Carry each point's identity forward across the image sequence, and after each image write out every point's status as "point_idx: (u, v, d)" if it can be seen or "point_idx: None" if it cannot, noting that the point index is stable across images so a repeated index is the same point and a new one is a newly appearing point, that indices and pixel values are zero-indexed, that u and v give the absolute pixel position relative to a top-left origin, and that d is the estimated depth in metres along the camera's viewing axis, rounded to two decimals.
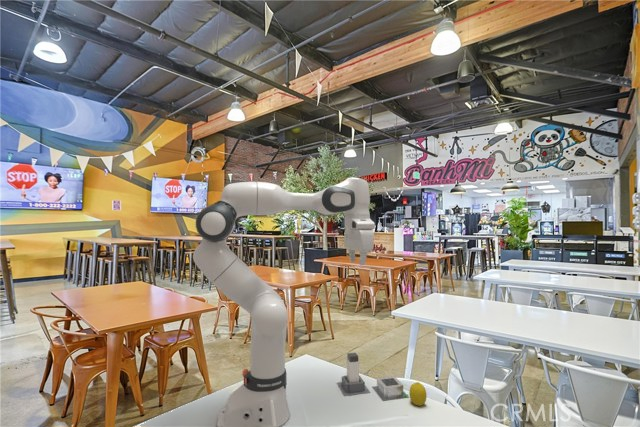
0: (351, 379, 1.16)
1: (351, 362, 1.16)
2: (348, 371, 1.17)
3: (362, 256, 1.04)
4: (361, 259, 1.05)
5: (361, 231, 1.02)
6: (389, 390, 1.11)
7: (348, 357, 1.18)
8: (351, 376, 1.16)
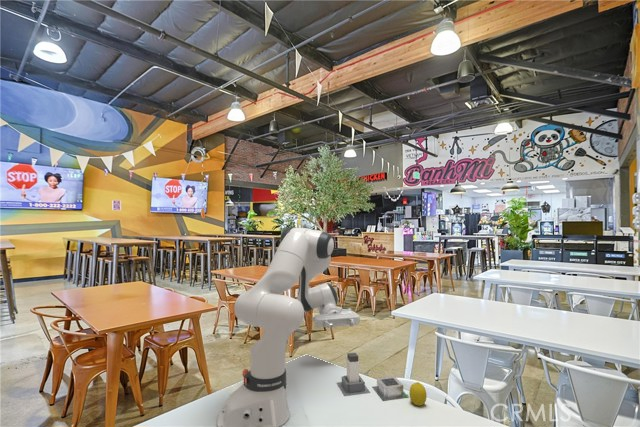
0: (351, 379, 1.16)
1: (351, 362, 1.16)
2: (348, 371, 1.17)
3: (353, 321, 1.36)
4: (353, 321, 1.35)
5: None
6: (389, 390, 1.11)
7: (348, 357, 1.18)
8: (351, 376, 1.16)
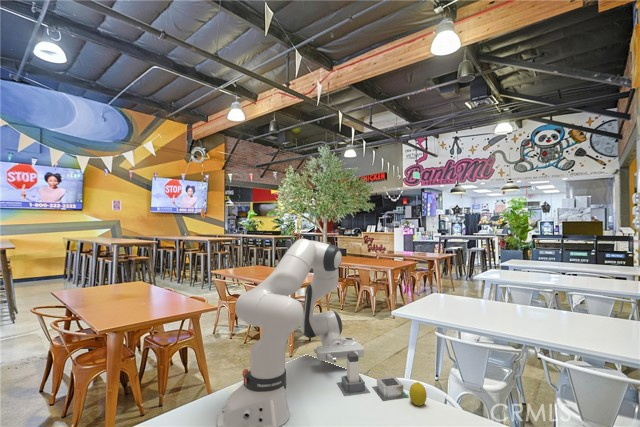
0: (351, 379, 1.16)
1: (351, 362, 1.16)
2: (348, 371, 1.17)
3: (357, 354, 1.30)
4: None
5: None
6: (389, 390, 1.11)
7: (348, 357, 1.18)
8: (351, 376, 1.16)
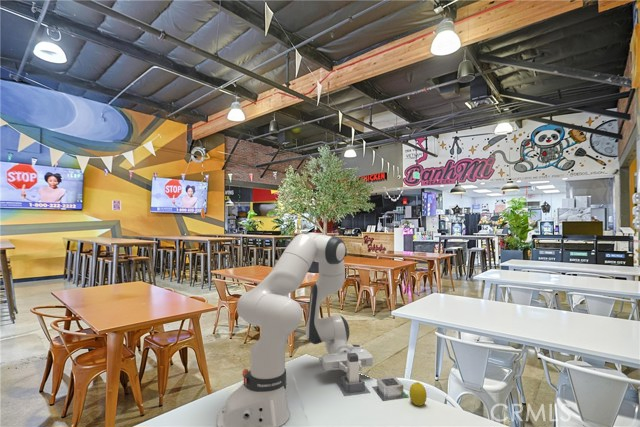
0: (351, 379, 1.16)
1: (351, 362, 1.16)
2: None
3: (361, 363, 1.21)
4: (360, 364, 1.20)
5: None
6: (389, 390, 1.11)
7: (348, 357, 1.18)
8: (351, 376, 1.16)
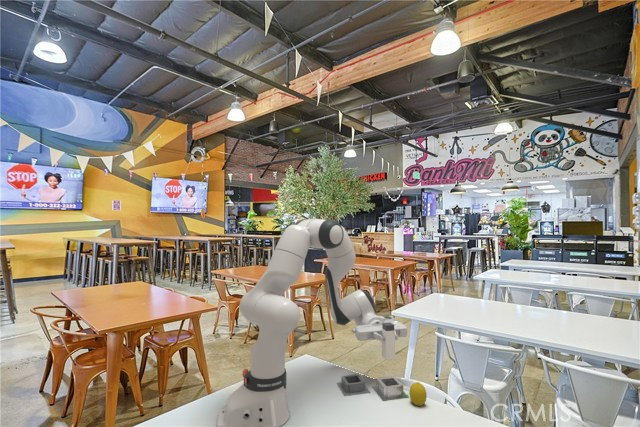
0: (387, 348, 1.13)
1: (387, 331, 1.14)
2: None
3: (395, 333, 1.18)
4: (395, 334, 1.17)
5: None
6: (389, 390, 1.11)
7: (383, 326, 1.16)
8: (387, 345, 1.13)
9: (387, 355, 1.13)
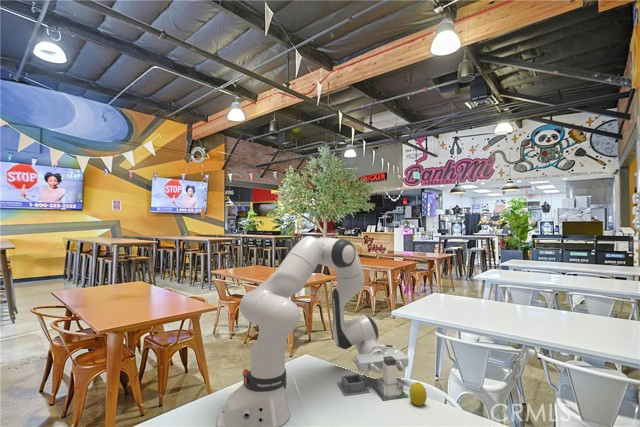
0: (389, 383, 1.13)
1: (388, 366, 1.13)
2: (385, 375, 1.14)
3: (401, 364, 1.18)
4: (401, 365, 1.17)
5: None
6: (389, 390, 1.11)
7: (385, 360, 1.15)
8: (388, 380, 1.13)
9: None
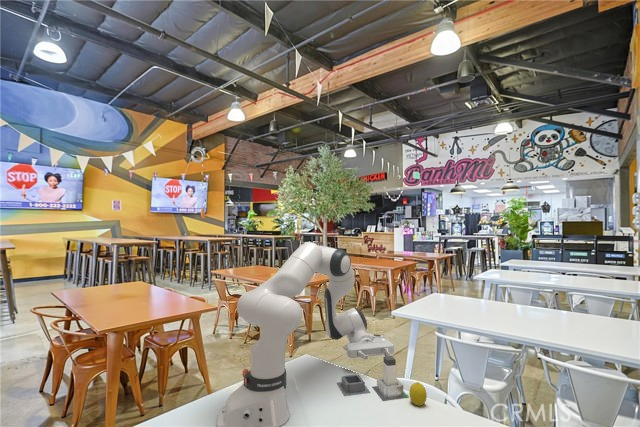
0: (389, 383, 1.13)
1: (388, 366, 1.13)
2: (385, 375, 1.14)
3: (388, 350, 1.30)
4: (388, 351, 1.29)
5: None
6: (389, 390, 1.11)
7: (385, 360, 1.15)
8: (388, 380, 1.13)
9: None
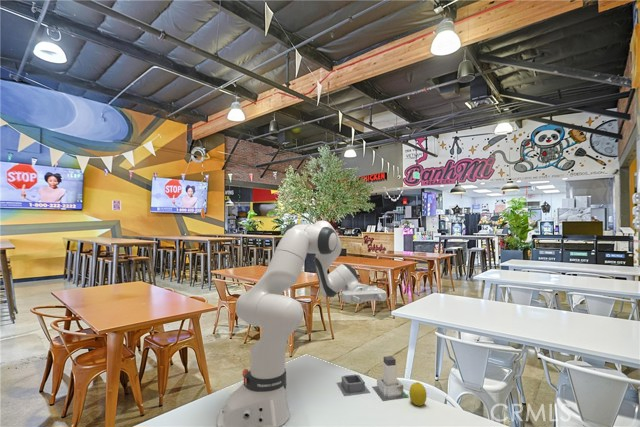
0: (389, 383, 1.13)
1: (388, 366, 1.13)
2: (385, 375, 1.14)
3: (381, 296, 1.38)
4: (380, 296, 1.36)
5: None
6: (389, 390, 1.11)
7: (385, 360, 1.15)
8: (388, 380, 1.13)
9: None
